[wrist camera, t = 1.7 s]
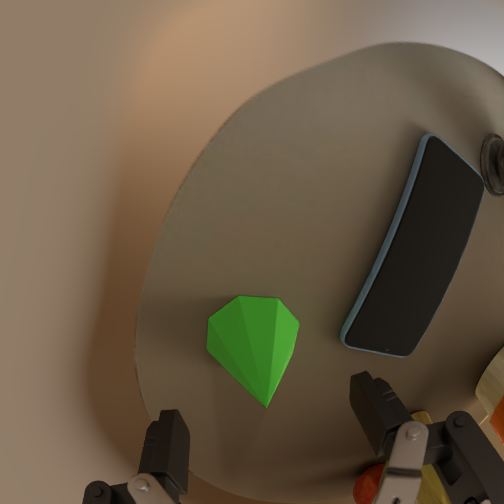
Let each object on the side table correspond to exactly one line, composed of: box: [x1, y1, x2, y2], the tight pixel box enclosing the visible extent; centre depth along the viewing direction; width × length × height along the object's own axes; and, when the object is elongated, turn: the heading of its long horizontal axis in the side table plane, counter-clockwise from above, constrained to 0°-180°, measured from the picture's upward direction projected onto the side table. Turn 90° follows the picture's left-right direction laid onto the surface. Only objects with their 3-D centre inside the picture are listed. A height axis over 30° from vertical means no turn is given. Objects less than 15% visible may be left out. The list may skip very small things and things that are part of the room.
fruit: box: [353, 463, 386, 504], centre depth 21 cm, size 7×7×8 cm
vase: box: [410, 411, 452, 504], centre depth 16 cm, size 6×6×14 cm
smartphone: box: [340, 134, 484, 357], centre depth 16 cm, size 7×1×15 cm
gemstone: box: [207, 296, 300, 408], centre depth 14 cm, size 6×6×6 cm
